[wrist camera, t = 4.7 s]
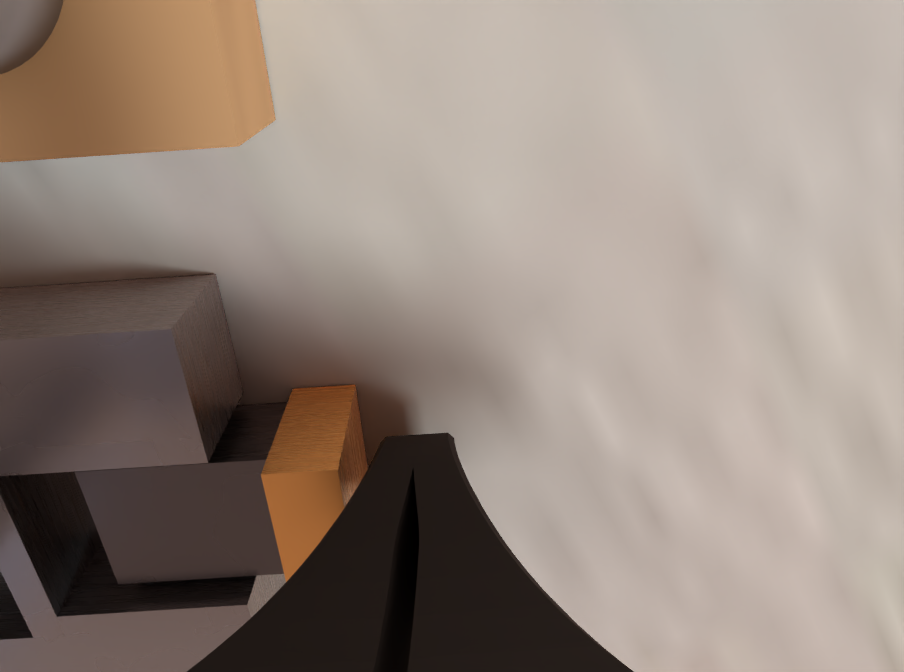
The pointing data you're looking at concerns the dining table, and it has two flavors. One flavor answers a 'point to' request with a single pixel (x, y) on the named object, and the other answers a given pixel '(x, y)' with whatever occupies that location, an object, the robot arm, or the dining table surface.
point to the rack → (129, 77)
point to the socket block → (108, 447)
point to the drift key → (236, 494)
